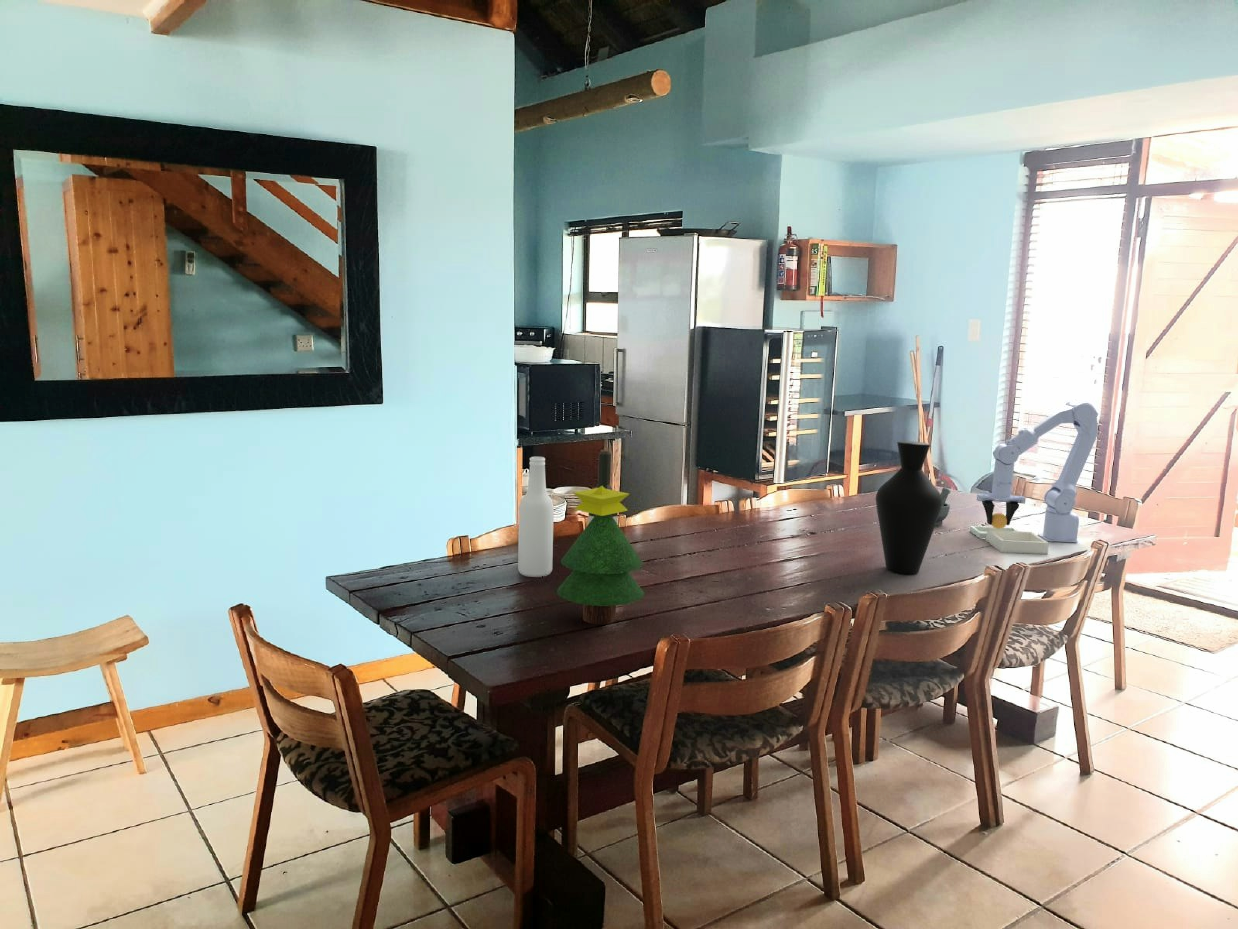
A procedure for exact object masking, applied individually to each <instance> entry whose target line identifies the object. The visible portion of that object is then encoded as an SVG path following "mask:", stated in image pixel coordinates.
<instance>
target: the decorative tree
mask: <svg viewBox="0 0 1238 929" xmlns="http://www.w3.org/2000/svg"><path fill="white" fill-rule="evenodd" d="M572 494H573V495H575V497H576V498H578V499H579V500H580V501H581V502H580V503H579V504H578V505H577V506H575V507H574V508H573V510H576V511H580V512H584V513H592V514H596V515H595V516H594V518H593V519H592V520H591V522H590V523H589V524H588V523H587V526H586V527H585V528H584V529H583V531H581V534H579V536H578V537H577V538H576V540H575V541H574V543H573V544H572V545H571V546H570V548H569V549H568V550H567V552H566V553H565V554H564V555H563V556H562V558H561V559H560V563H561V564H562V565H563V567H566V568H567V569H570V570H572V571H571V573H569V575H568V576H567V578H565V580H564V581H563V582H562V583H561V584H560V585H559V587H558V588H557V590H556V593H557V595H558V596H559V597H560V598H562V599H564V600H565V601H568V602H572V603H574V604H575V603H576V604H580V605H582V607H583V608H582V609H583V610H582V620H583V621H584V622H586V623H588V624H591V625H592V624H593V625H607V624H612V623H614V622H615V621H616V615H617V614H616V613H617V612H616V611H617V608H616V607H617V606H622V605H627V604H628V605H629V604H632V603H635V602H637V601H640V600H641V599H643V597H644V594H645V593H644V590H643V589H642V588H641V587H640V585H639V583H638V582H637V581H636V580H635V579H634V577H633V576H632V574H631V572H633V571H637V570H639V569H640V568H642V567H643V565H644V563H643V561H642V559H641V557H640V555H639V554H638V553H637V551H636V550H635V548H634V547H633V545H632V544H631V542H630V541H629V540H628V538H627V536H626V535H625V533H624V532H623V530H622V529H621V528H620V526H619V524H618V522H617V523H616V521H615V520H614V518H613V517H612V515H611V514H614V513H618V514H619V513H622V512H623V513H624V512H626V511H629V510H628V508H626V506H624V505H623V503H621V502H622V501H623V500H624V499H626V498H627V497H628V496H629V495H630V493H628V492H623V491H618V490H613V489H612V490H610V489H605V488H604V487H603V486H601V487H599V488H595V487H594V488H589V489H585V490H579V491H573V492H572Z"/></svg>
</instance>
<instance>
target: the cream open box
mask: <svg viewBox="0 0 1238 929" xmlns="http://www.w3.org/2000/svg"><path fill="white" fill-rule="evenodd" d="M985 541H986V542H987V541H988V542H989V543H990V544H989V543H988V542H987V543H988V544H989V545H991V544H992V545H991V546H992V547H993V546H994V547H993V548H995V549H996V548H997V549H998V550H997V549H996V550H997V551H999V552H1000V551H1001V552H1000V553H1011V554H1033V555H1048V553H1049V546H1050V545H1049V544H1050V542H1049V541H1047V540H1045V539H1043V538H1042V537H1040V536H1039V535H1038V534H1035V533H1034V532H1032V531H1021V530H1018V531H1001V530H987V535H986V539H985Z"/></svg>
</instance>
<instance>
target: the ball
mask: <svg viewBox="0 0 1238 929" xmlns="http://www.w3.org/2000/svg"><path fill="white" fill-rule="evenodd" d="M1006 524H1007V518H1006V514H1005V515H1004V514H1003V513H1002V512H1001V513H1000V512H996V513H993V515H992V524H990V525H991V527H994V528H997V529H1001V528H1003V527H1006Z"/></svg>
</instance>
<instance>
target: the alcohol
mask: <svg viewBox="0 0 1238 929" xmlns="http://www.w3.org/2000/svg"><path fill="white" fill-rule="evenodd" d="M545 465H546V458H545V457H544V456H531V457H529V472H528V483H527V490H526V493H525V494H524V495H523V496H522V498H521V499H520V500H519V504H518V505H519V506H518V542H517V543H518V551H517V553H518V554H517V570H518V572H519V574H521V575H522V576H523V577H529V578H540V577H541V578H542V576H543V577H547V576H548V575H550V574H551V573H552V571H553V554H554V553H553V550H554V547H553V546H554V544H553V543H554V512H555V509H554V508H555V506H554V503H553V500H552V498H551V496H549V494H548V492H547V484H546V482H547V481H546V466H545Z"/></svg>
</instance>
